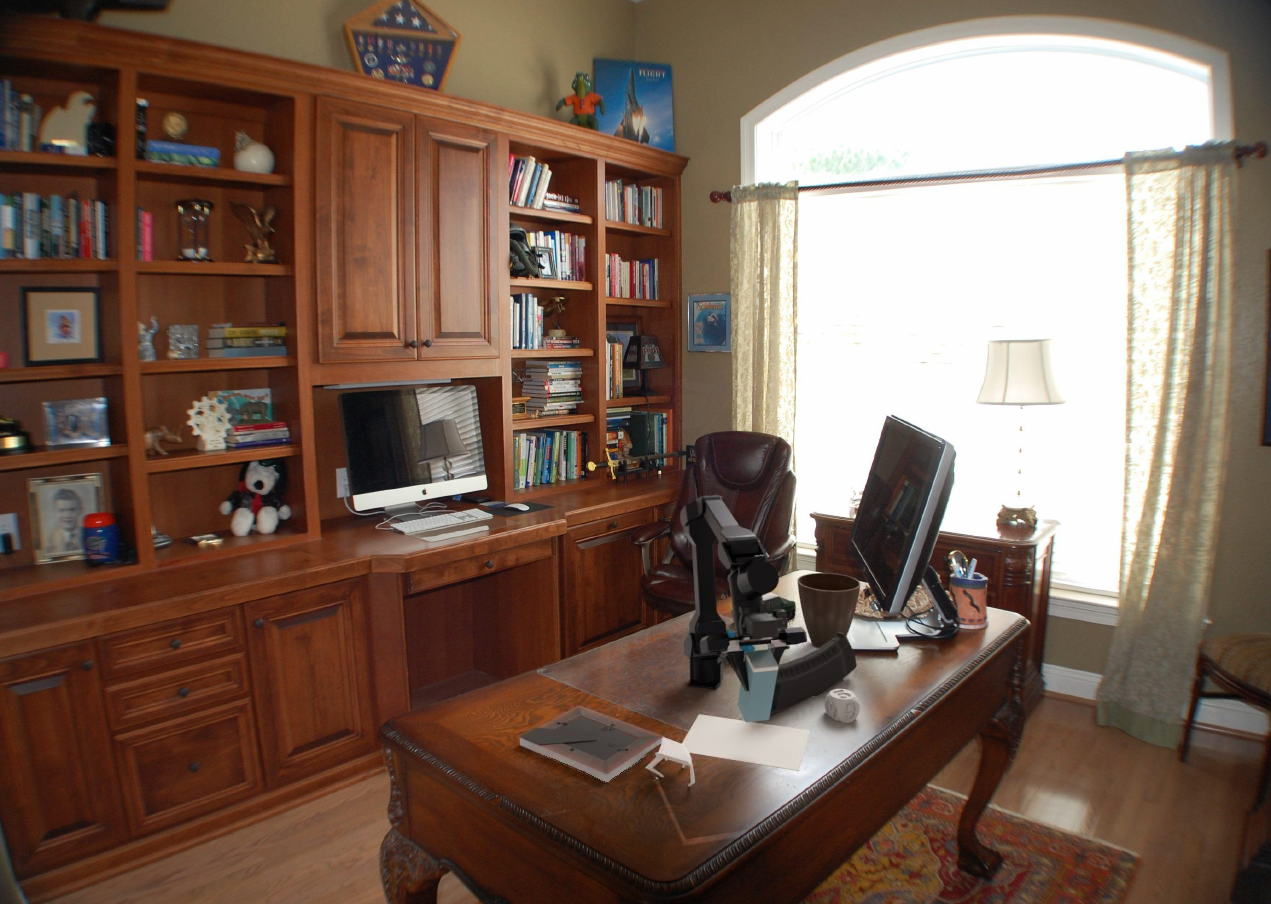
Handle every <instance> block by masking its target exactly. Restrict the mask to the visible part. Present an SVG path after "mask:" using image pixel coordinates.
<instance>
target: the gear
mask: <svg viewBox="0 0 1271 904" xmlns="http://www.w3.org/2000/svg"><path fill="white" fill-rule="evenodd" d="M726 630H727V632H728V635H729V636H730V638H731V637H735V635H734V633H735V632H736V631H734V630H729V629H727V628H726ZM743 640H746V637H745V638H743ZM741 650H744V653H745V652H747V651H756V647H755V645H752V646H742V647H740V651H741ZM723 658H724V659H725V660H726V658H725V657H723Z"/></svg>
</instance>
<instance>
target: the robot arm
mask: <svg viewBox="0 0 1271 904" xmlns="http://www.w3.org/2000/svg"><path fill="white" fill-rule="evenodd" d="M679 515H680V516H679V517H680V518H679V519H680V524H681V526H682V528H683V534H684V535H685V537H686V539H687V540H688V541H689V542H690V543H689V544H691V552H692V553H691V556H692V567H693V569H692V571H693V584H694V585H693V587H694V588H693V589H694V603H695V605H694V606H695V607H694V608H695V612H694V613H693V615H692V617H691V620H690V622H689V624H688V627H689V628H688V629H689V630H688V633H687V634H686V636H685V640H684V641H683V652H684V655H685V656H686V657H687V659H688V660H689V680H688V682H687V685H688V686H691V687H700V688H706V689H713V690H715V689H717V688H718V687H719V685H720V684H721V683H722V681H723V679H724V661H723V660H722V658H724V657H725V658H726V659H727V660H726V659H725V658H724V659H725V660H726V662H728V664H729V665H730V667H731V668H732V670H733V672H734V673H735V674H736V677H737V678H738V680H739V683H740V685H741V684H742V686H743V688H744V690H745V691H749V683H748V678H747V673H746V668H745V663H744V659H745V652H744V650H742V649H741V650H740V647H742V646H760V645H761V646H762V645H766V646H767V649H770V651H771V653H772V655H773V657H774V659H775V661H776V662H777V664H778V666H779V665H780V664H781V663H780V662H781V660H782V657H783V655H784V652H785V651H786V650H790V647H791V646H794V645H795V646H796V645H801V644H804V643H808V637H807V632H806V630H805V629H804V628H803V626H799V627H797V626H796V627H788V626H789V625H788V622H789V620H788V619H787V615H786V611H785V610H783V609H782V610H774V611H773V614H768V611H767V607H766V604H763V597H762V596H763V595H765V594H768V593H770V592H772V593H773V591H774V590H775V589H776V588H777V587H778V584H779V581H780V578H779V577H780V576H779V572H778V570H777V569H776V567H775V566H774V565H773V564H771V561H770V557H771V556H770V555H769V554H768V552H767V550H766V549H765V548H764V546H763V544H762V543H761V540H760V539H759V538H758V536H757V535H756V534H755V533H753V531H752V530H750V529H749V528H744V527H743V526H740V525H739V524H738V522H737V520H736V519H735V518H734V516H733V515H732V513H731V511H730V510H729V508H728V507H727V506H726V504H725V499H724V496H722V495H719V494H717V495H715V494H714V495H703V496H702V495H701V496H699V497H698V498H697V499H696V500H695V501H692V502H689V503H688V504H685V505H684V506H683V507H682V509H681V511H680V514H679ZM716 540H717V541H718V544H717V555H718V560H719V561H720V562H721V564H722V565H724V567H725V568H726V570H731V571H730V573H729V574H728V575H727V582H728V583H729V591H730V598H731V599H730V600H731V605H732V610H730V613H731V616H732V617H733V616H734V621H733V622H734V628H735V631H734V632H735V633H734V635H735V637H731V638H730V636H729V635H728V632H727V630H728V629H727V623H726V622H725V620H723V618H722V616H721V615H720V614H719V613H718V607H717V605H718V604H717V589H716V586H717V585H716V575H715V574H716V572H715V555H714V544H715V541H716ZM726 629H727V630H726ZM743 638H745V639H744V640H743ZM747 638H749V639H747ZM767 649H765V650H767ZM778 668H779V667H778ZM777 673H778V672H777ZM776 679H777V678H776ZM775 685H776V683H775Z"/></svg>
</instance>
